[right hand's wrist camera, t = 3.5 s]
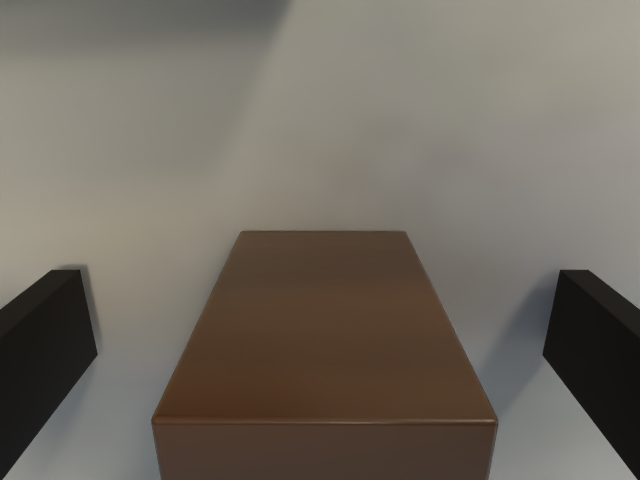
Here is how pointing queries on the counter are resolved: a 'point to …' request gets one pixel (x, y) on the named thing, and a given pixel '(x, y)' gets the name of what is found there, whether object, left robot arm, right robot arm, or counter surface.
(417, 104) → the counter surface
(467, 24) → the counter surface
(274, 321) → the walnut block
